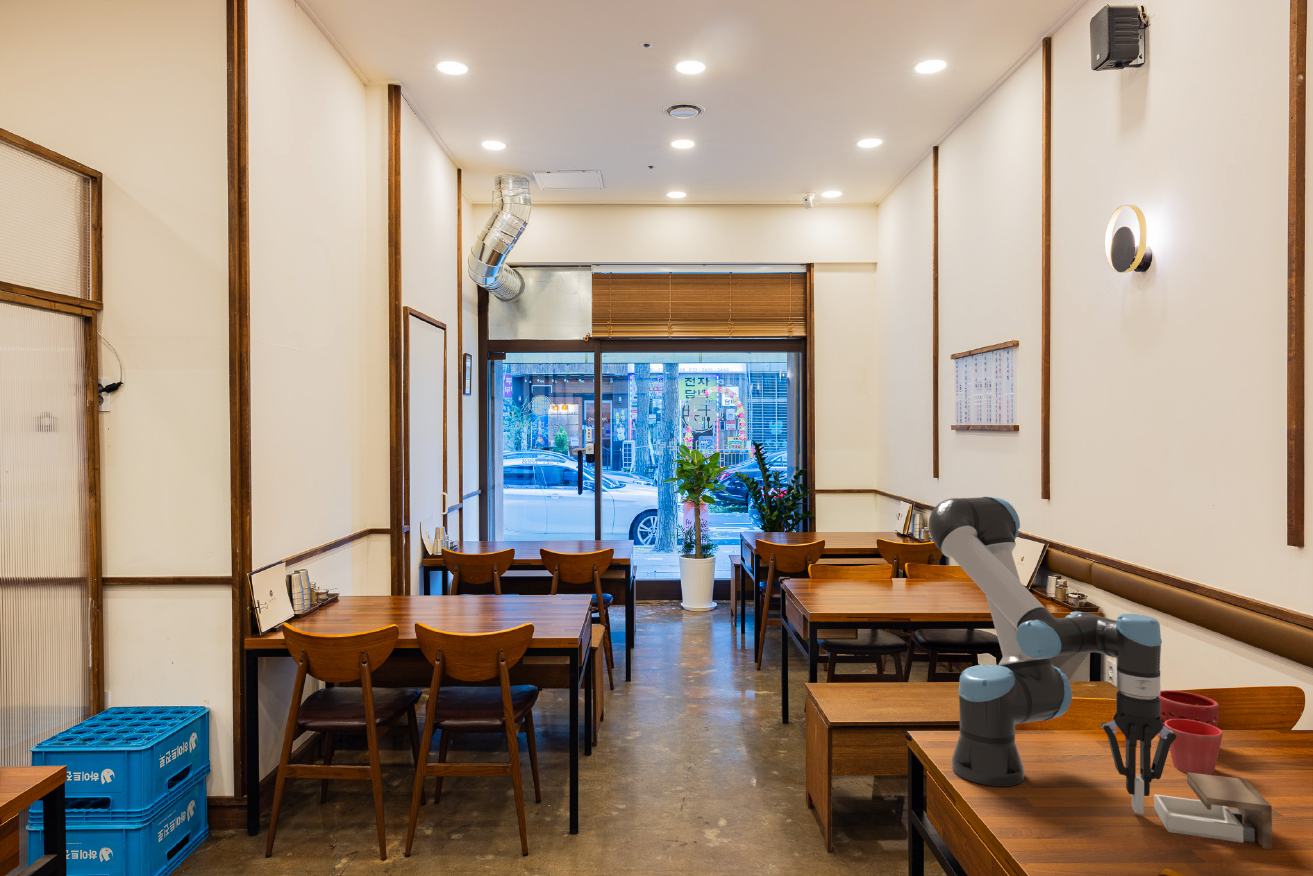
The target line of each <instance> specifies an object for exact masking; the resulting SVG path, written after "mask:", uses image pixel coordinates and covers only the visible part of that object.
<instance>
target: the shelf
mask: <svg viewBox="0 0 1313 876" xmlns="http://www.w3.org/2000/svg"><path fill="white" fill-rule="evenodd" d="M1186 783H1187V785H1188V786H1189V787H1190V789H1191V790H1192V791H1193V793H1194V794H1195V795H1196V797H1197V798H1198V800H1201V802H1202V803H1203V804H1204V806H1205V807H1206V808H1207V809H1208V810H1211V805H1219V806H1226V807H1227V808H1234V809H1235V808H1236V809H1237V810H1239V811H1240V813H1241V814H1242V823H1246V824H1251V825H1252V827H1253V828H1254V829H1255V841H1256V842H1257V843H1258V844H1259V845H1260V846H1261V847H1262V849H1267V850H1273V817H1272V816H1273V813H1272V811H1273V810H1272V805H1271V803H1270V802H1268V800H1267V799H1265V797H1264V796H1263V795H1261V793H1260V792H1259V791H1258V790H1257V789H1256V788H1255V787H1254V786H1253V785H1252V784H1251V782H1249V781H1248V780H1247V779H1246V778H1240V777H1239V778H1238V777H1229V776H1222V775H1214V774H1212V775H1206V774H1197V773H1189V772H1187V773H1186Z"/></svg>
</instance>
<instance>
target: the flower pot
mask: <svg viewBox="0 0 1313 876" xmlns="http://www.w3.org/2000/svg"><path fill="white" fill-rule="evenodd" d="M1165 728H1167V729H1170V730H1172V731H1173V733H1174V734H1175V735H1176V739H1175V740H1174V741H1173V742H1172V744H1171V745H1170V748H1169V753H1170V756H1171V761H1172V765H1173V766H1174V768H1176V769H1177V770H1179V771H1180V772H1184V773H1186V774H1187V772H1189V773H1197V774H1206V775H1214V773H1215V770H1216V766H1217V761H1218V758H1219V755H1220V753H1219V752H1220V748H1221V744H1222V741H1223V740H1222V739H1223V731H1222V730H1221V729H1220V728H1219V727H1214V726H1212V725H1209V724H1206V723H1203V722H1199V721H1194V720H1188V719H1170V720H1167V721H1165Z"/></svg>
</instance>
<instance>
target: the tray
mask: <svg viewBox="0 0 1313 876" xmlns="http://www.w3.org/2000/svg"><path fill="white" fill-rule="evenodd" d="M1153 796H1154V798H1153V801H1154V802H1153V803H1154V804H1153V805H1154V811H1155V812H1156V814H1157V815H1158V817H1159V819H1160V821H1161V822H1162V824H1163V825H1164V828H1165V829H1166V831H1167V832H1168V833H1174V834H1180V835H1187V836H1194V837H1201V838H1209V839H1215V840H1220V841H1221V840H1222V841H1229V842H1235V843H1236V842H1237V843H1243V844H1244V841H1243V826H1242V825H1241V824H1240V822H1239V821H1238V820H1237V819H1236V817H1235V816H1234V815H1233V814H1232V812H1231V811H1230V810H1229V809H1230V808H1229V807H1226V806H1219V805H1211V810H1208V809H1207V808H1206V807H1205V806H1204V804H1203V803H1202V802H1201V800H1200V799H1194V798H1193V799H1192V798H1186V797H1178V796H1171V795H1163V794H1155V793H1154V794H1153Z"/></svg>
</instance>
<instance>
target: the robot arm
mask: <svg viewBox="0 0 1313 876" xmlns="http://www.w3.org/2000/svg"><path fill="white" fill-rule="evenodd" d="M1019 529H1021V523H1020V517H1019V514H1018V512H1017V510H1016V509H1015V508H1014V506H1013V505H1012V504H1011V503H1010V502H1009V501H1006V500H1005V499H1003V498H999V497H991V496H990V497H989V496H983V497H963V498H962V497H960V498H958V497H956V498H955V497H953V498H952V497H951V498H948V499H945V500H942V501H941V502H939V503H938V504H937V505H936V506H935V507H934V508H933V509H932V511H931V512H930V515H929V519H928V530H929V531H928V532H929V534H930V537H931V540H932V541H933V543H934V545H935V546H936V548H937V549H939V551H940V553H942V554H943V555H944V556H945V557H947V558H951V559H953V560H954V561H955V562H956V563H957V565H959V567H960V568H961V569H962V570H963V571H964V572H965V573H966V575H967V576H968V577H969V578H970V579H971V580H972V581H973V582H974V583H975V585H976V586H977V587H978V588H979V589H980V590H981V591H982V592H983V593H984V594H985V598H986V601H987V604H988V609H989V612H990V615H991V618H992V621H993V626H994V629H995V633H996V636H997V640H998V643H999V647H1000V651H1001V654H1002V658H1001V659H1000V661H999V662H998V664H989V665H987V664H979V665H974V666H970V667H967V668H965V669H964V670H962V672H961V673H960V676H959V686H958V696H959V697H958V699H959V701H958V703H959V705H958V706H959V736H958V738H957V742H956V745H955V748H954V752H953V753H952V757H951V769H952V771H953V772H954V773H955V774H956V775H957V776H959V777H960V778H962V779H965V780H967V781H970V782H972V783H976V784H980V785H984V786H989V787H990V786H991V787H1012V786H1017V785H1019V784H1021V783H1023V782H1024V780H1025V768H1024V765H1023V761H1022V759H1021V756H1020V752H1019V750H1018V747H1017V744H1016V725H1019V724H1020V725H1021V724H1026V723H1034V722H1040V721H1050V720H1053V719H1056V718H1059V717H1062V716H1063V715H1065V713H1067V712H1068V709H1069V707H1070V706H1071V703H1072V698H1073V691H1072V687H1071V686H1072V685H1071V682H1070V680H1069V678H1068V677H1067V674H1066V673H1064V672H1063V671H1062V669H1060V668H1059V667H1056V666H1055V665H1053V663H1052V660H1051V659H1052V658H1055V657H1062V656H1071V655H1079V654H1088V653H1089V654H1090V653H1098V654H1102V655H1104V656H1108V657H1111V658H1115V659H1116V684H1115V685H1116V689H1117V690H1118V691H1117V692H1116V696H1115V697H1116V699H1115V700H1116V701H1115V702H1116V705H1115V707H1116V709H1115V710H1116V711H1115V713H1114V715H1113V718H1112V720H1111V721H1108V722H1105V721H1103V722H1102V723H1101V725H1100V726H1101V728H1102V729H1103V731H1104V732H1105V734H1106V737H1107V739H1108V740H1107V741H1108V743H1109V747H1110V751H1111V755H1112V759H1113V762H1114V767H1115V769H1116V771H1117V772H1118V774H1119V775H1122V776H1125V782H1126V783H1125V790H1126V791H1127V793H1128V794H1129V795H1131V807H1132V808H1131V809H1133V811H1134V813H1135V814H1141V815H1144V814H1145V797H1149V796H1150V793H1151V792H1150V791H1151V789H1150V787H1151V782H1152V780H1160V779H1162V775H1163V771H1164V768H1165V764H1166V760H1167V757H1168V754H1169V752H1170V749H1169V748H1170V745H1171V744H1172V742H1173V741H1174V740H1175V739H1176V735H1175V734H1174V733H1173V731H1172V730H1170V729H1167V728H1165V727H1164V726H1163V723H1162V721H1161V719H1160V704H1161V700H1160V698H1159V697H1158V696H1159V695H1160V691H1161V652H1162V651H1161V650H1162V644H1163V643H1162V642H1163V641H1162V636H1161V625H1160V623H1159V620H1157V619H1156V618H1154V617H1152V616H1148V615H1143V614H1135V613H1123V614H1119V615H1118V616H1117V617H1116V620H1114V619H1111V618H1108V617H1103V616H1099V615H1097V614H1095V613H1091V612H1082V611H1077V610H1076V611H1072V612H1070V613H1069V614H1068V615H1066V616H1065V617H1060V618H1057V617H1055V616H1054V614H1052V613H1051V612H1050V611H1049V610H1048V609H1047V608H1046V607H1045V605H1043V604H1042V603H1041V602H1040V601H1039V600H1038V598H1037V597H1035V596H1034V594H1032V592H1030V590H1028V589H1027V587H1025V586H1024V584H1023V583H1022V582H1021V579H1020V576H1019V573H1018V570H1017V566H1016V563H1015V560H1014V556H1013V551H1014V549H1015V548H1016V546H1017V544H1016V541H1015V539H1016V538H1017V537H1018V536H1019V533H1020V531H1019ZM1117 727H1118V729H1119V730H1120V731H1121V732H1122V733H1121V734H1123V735H1124V740H1125V765H1124V762H1123V758H1122V754H1121V751H1120V750H1121V749H1120V747H1119V742H1118V739H1117V736H1116V735H1115V734H1117V731H1118V730H1117ZM1159 732H1160V736H1161V737H1160V739H1159V738H1158V739H1159V740H1158V742H1157V747H1156V750H1155V752H1154V755H1153V756H1154V757H1153V760H1152V763H1151V759H1152V758H1151V754H1152V753H1151V750H1152V749H1151V748H1152V741H1153V740H1154V739H1155V737H1156V736H1158V735H1157V734H1158V733H1159ZM1137 741H1139V773H1140V775H1137V774H1136V773H1137V772H1136V771H1137V769H1136V764H1137V763H1136V762H1137V759H1136V758H1137V752H1136V751H1137V744H1138V743H1137Z"/></svg>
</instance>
